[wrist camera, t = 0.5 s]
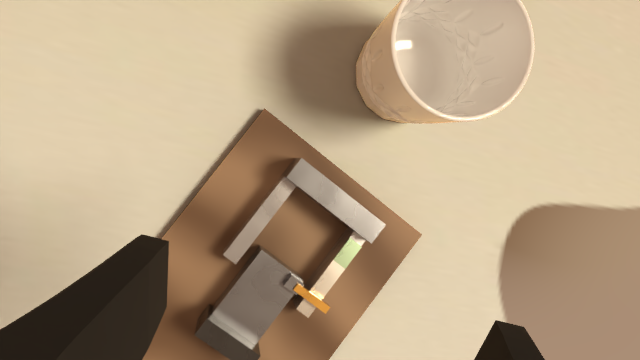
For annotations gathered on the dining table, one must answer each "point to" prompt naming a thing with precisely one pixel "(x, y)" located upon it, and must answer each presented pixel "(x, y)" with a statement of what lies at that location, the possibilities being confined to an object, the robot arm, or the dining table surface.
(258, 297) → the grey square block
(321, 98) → the dining table surface
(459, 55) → the white cup
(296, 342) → the walnut board
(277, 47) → the dining table surface
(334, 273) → the gauge body
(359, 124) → the dining table surface
